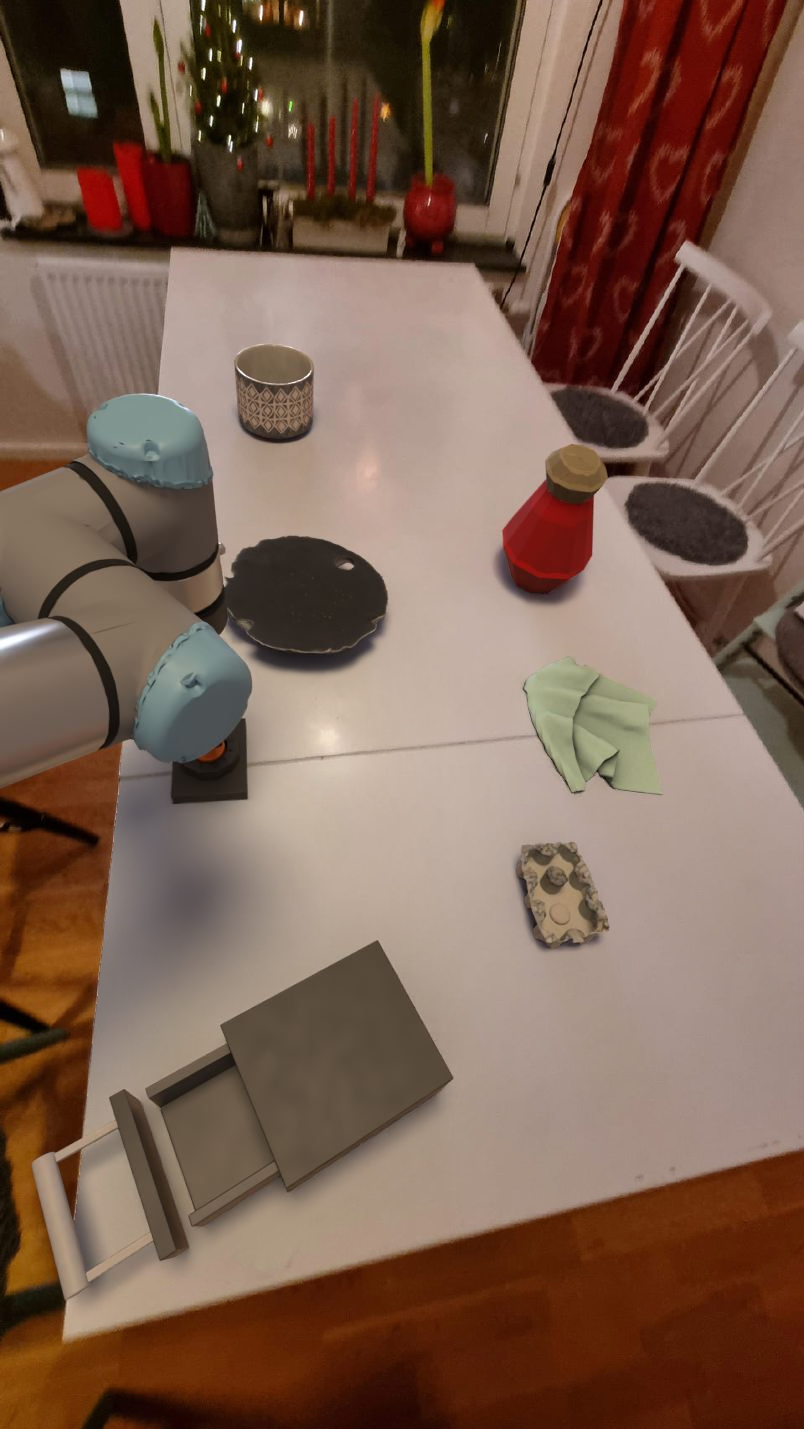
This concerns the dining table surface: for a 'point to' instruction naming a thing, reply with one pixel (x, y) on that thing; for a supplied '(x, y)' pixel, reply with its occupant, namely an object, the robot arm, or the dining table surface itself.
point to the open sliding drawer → (209, 1147)
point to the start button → (213, 754)
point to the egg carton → (561, 894)
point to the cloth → (593, 727)
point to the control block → (214, 774)
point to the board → (304, 595)
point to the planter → (274, 390)
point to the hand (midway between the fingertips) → (208, 744)
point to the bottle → (555, 522)
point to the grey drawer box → (334, 1061)
